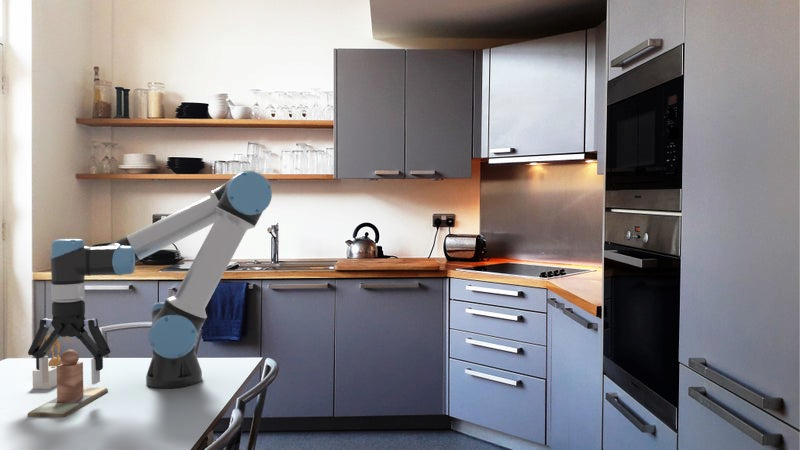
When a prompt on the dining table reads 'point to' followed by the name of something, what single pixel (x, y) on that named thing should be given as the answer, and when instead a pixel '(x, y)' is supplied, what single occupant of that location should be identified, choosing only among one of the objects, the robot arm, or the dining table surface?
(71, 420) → the dining table surface
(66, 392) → the pawn
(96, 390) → the board
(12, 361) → the dining table surface
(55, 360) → the figurine
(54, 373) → the die
